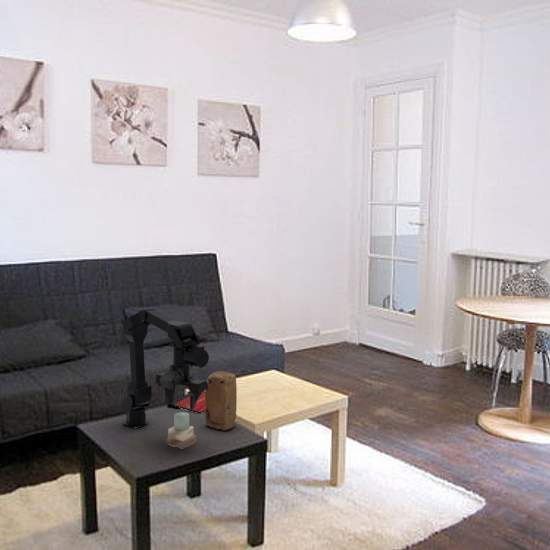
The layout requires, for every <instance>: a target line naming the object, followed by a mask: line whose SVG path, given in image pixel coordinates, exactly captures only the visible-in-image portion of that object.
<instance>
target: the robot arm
mask: <svg viewBox="0 0 550 550" xmlns="http://www.w3.org/2000/svg"><path fill="white" fill-rule="evenodd" d="M151 325H152V326H154V327H155V328H158V329H159V330H161V331H163V332H165V334H166V336H167V338H168V339H169V340H170V341H171V342H170V343H169V344H168V347H170V348H172V363H171V364H170V365H169V370H168V371H163V372H161V373H157V375H156V376H155V379H154V380H155V384H158V386H159V387H161V388H162V389H163V391H164V393H165V395H166V398H167V401H168V403H169V404H172V403H173V401H174V400H175V399H174V396H175V389H176V387H179V386H180V385H181V386H185V387H187V389H188V391H187V394H189V395H190V410H193V409H194V407H195V405H196V403H197V401H198V399H199V397H200V395H201V393H202V392H203V391H205V390H207V389H208V382H207V380H204V379H199V378H198V379H197V378H196V379H195V380H192V379H193V378H194V377H193V375H191V368H193V367H197V368H201V369H202V368H204V367H206V366H207V364H208V363H209V360H210V356H209V353H208V351H207V350H206V349H205V346H204V345H200V344H201V343H200V339H199V338H198V336H197V333H196V331H195V329H194V327H193V325H192V324H191V323H190V322H186V321H181V320H180V321H178V320H174V319H172V318H170V317H168V316H167V315H165V314H163V313H161V312H159V311H157V310H156V309H155V308H153V307H150V308H143V309H141V310H139V311H138V312H136V313H135V314H133V315H130V317H126V318H125V319H124V320H123V324H122V327H123V333H124V336H125V338H126V339H127V341H128V342H129V360H130V361H129V362H130V365H129V366H130V383H129V385H128V387H127V390H126V397H124V399H123V400H122V402H121V409H122V410H124V411H126V422H124V423H123V424H125V425H124V426H126V425H128V426H127V427H129V426H132V427H138V426H141V427H143V426H145V425H144V424H146V422H147V423H148V424H149V421H147V419H146V417H147V416H146V415H147V414H146V408H149V407H150V405H151V401H152V397H153V394H152V392H153V391H152V389H153V388H152V386H151V385H149V384H148V382H147V381H146V365H145V364H146V363H145V344H144V342H145V339H146V337H147V336H148V332H149V327H150V326H151ZM142 425H143V426H142ZM146 425H147V424H146ZM132 427H131V428H132ZM138 428H139V427H138Z"/></svg>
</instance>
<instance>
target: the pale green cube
mask: <svg viewBox="0 0 550 550" xmlns="http://www.w3.org/2000/svg"><path fill="white" fill-rule="evenodd" d="M173 426H174V429H175V430H177V431H184V430H188V429H189V426H190V414H189V412H186V411H181V412H177V413H176V412H175V413H174V415H173Z"/></svg>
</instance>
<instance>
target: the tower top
mask: <svg viewBox="0 0 550 550" xmlns="http://www.w3.org/2000/svg"><path fill="white" fill-rule="evenodd" d="M167 431H168V433H167V434H168V436H167V437H168V438H171V439H175V440H180V441H185V440H186V439H188V438H190V437H191V436H193V435H194V426H192V425H191V426H190V425H189V429H188V430H184V431H177V430H175V429H174V425H173V426H172V427H170V428H168V429H167Z"/></svg>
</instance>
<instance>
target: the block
mask: <svg viewBox="0 0 550 550" xmlns="http://www.w3.org/2000/svg"><path fill="white" fill-rule="evenodd" d="M206 381H207V382H208V389H207V390H205V403H206V410H205V412H204V414H205V416H204V417H205V421H204V422H205V425H206V426H208V427H210V428H212V427H213V428H212V429H215V428H217V429H216V430H218V429H222V430H221V431H228V429H229V430H231V429H233V427H234V426H235V422H236V418H237V398H238V396H237V391H238V389H237V377H236V375H235V373H233V372H229V371H226V370H225V371H223V370H218V371H214V372H212V373H211V374H210V375H208V377H207V379H206ZM230 428H231V429H230Z"/></svg>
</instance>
